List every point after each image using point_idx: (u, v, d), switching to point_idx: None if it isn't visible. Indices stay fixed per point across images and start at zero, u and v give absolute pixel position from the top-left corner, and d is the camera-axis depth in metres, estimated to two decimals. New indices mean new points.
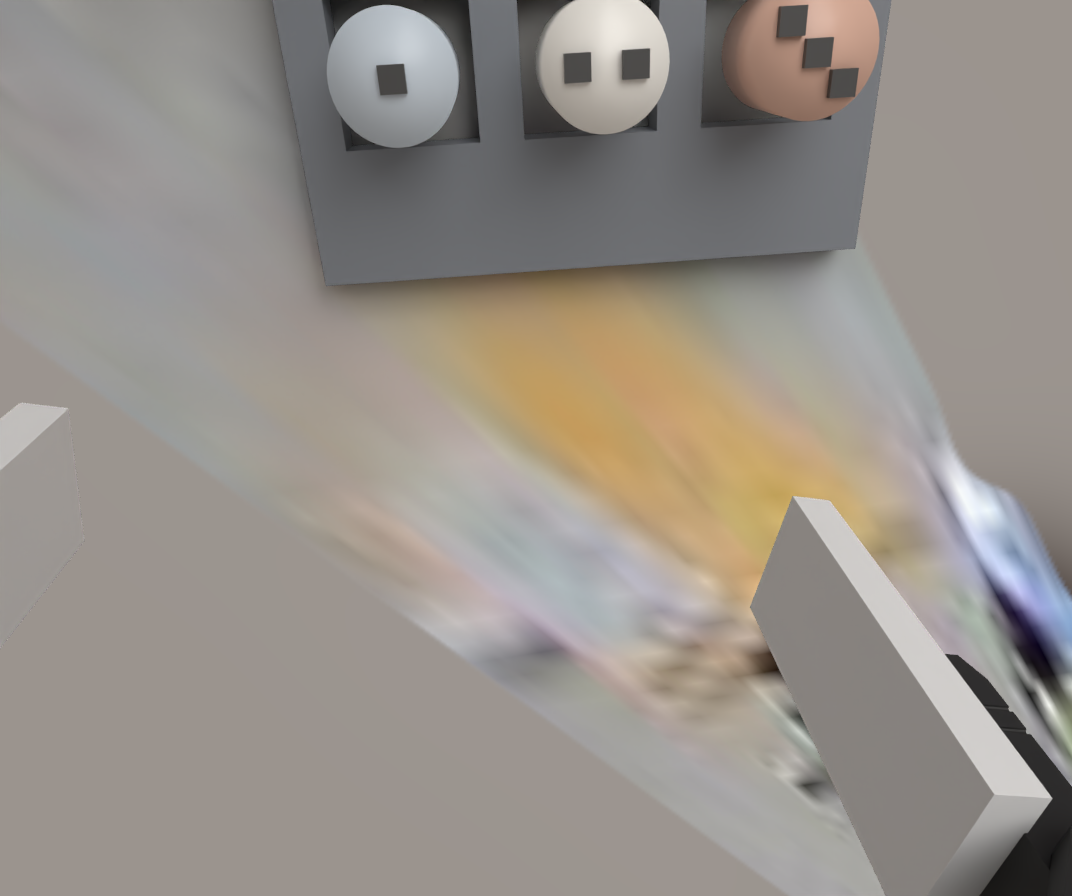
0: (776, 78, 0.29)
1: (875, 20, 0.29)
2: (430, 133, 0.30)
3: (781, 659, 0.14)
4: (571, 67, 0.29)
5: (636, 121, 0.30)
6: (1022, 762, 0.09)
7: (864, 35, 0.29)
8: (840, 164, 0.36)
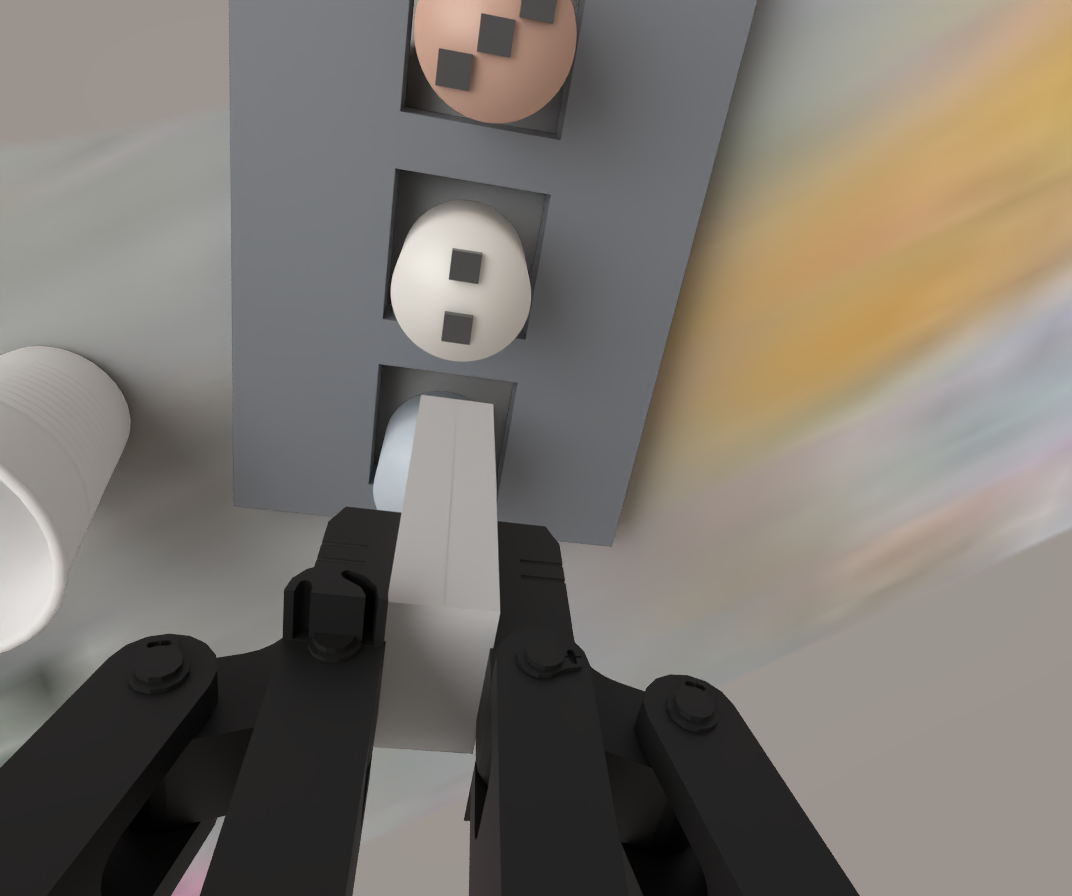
0: (514, 93, 0.23)
1: None
2: None
3: None
4: (455, 336, 0.27)
5: (524, 272, 0.26)
6: (497, 588, 0.11)
7: None
8: None
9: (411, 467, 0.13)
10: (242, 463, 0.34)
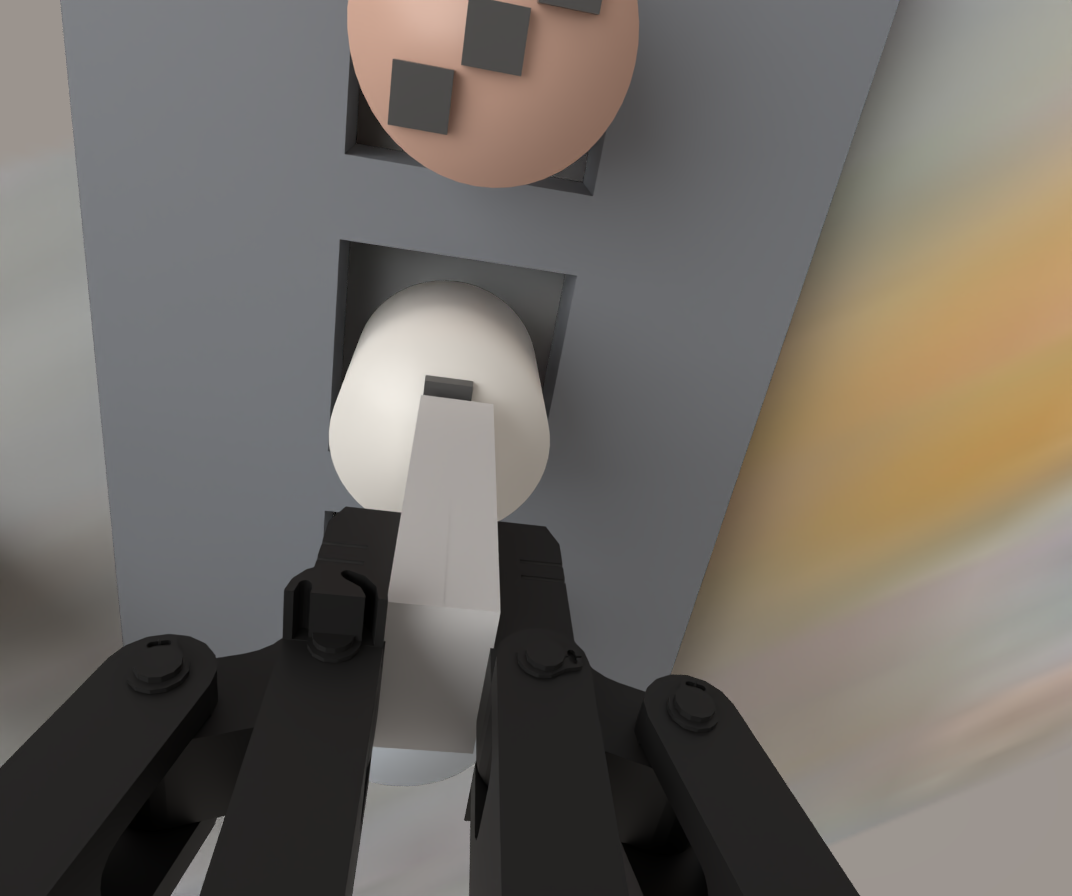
0: (528, 137, 0.13)
1: None
2: None
3: None
4: None
5: (539, 408, 0.17)
6: (498, 588, 0.11)
7: None
8: None
9: (411, 467, 0.13)
10: None
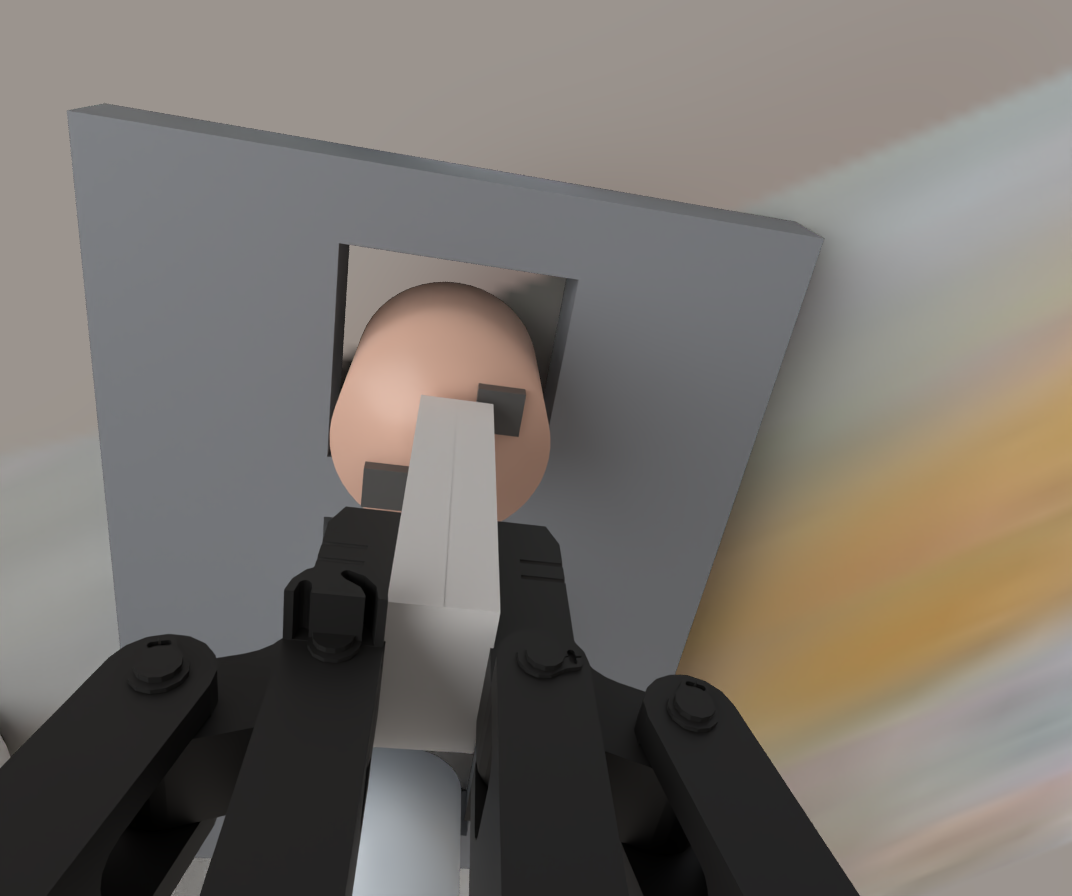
0: None
1: (407, 349, 0.16)
2: (448, 895, 0.23)
3: None
4: None
5: None
6: (497, 588, 0.11)
7: (428, 368, 0.16)
8: (659, 264, 0.20)
9: (411, 467, 0.13)
10: None
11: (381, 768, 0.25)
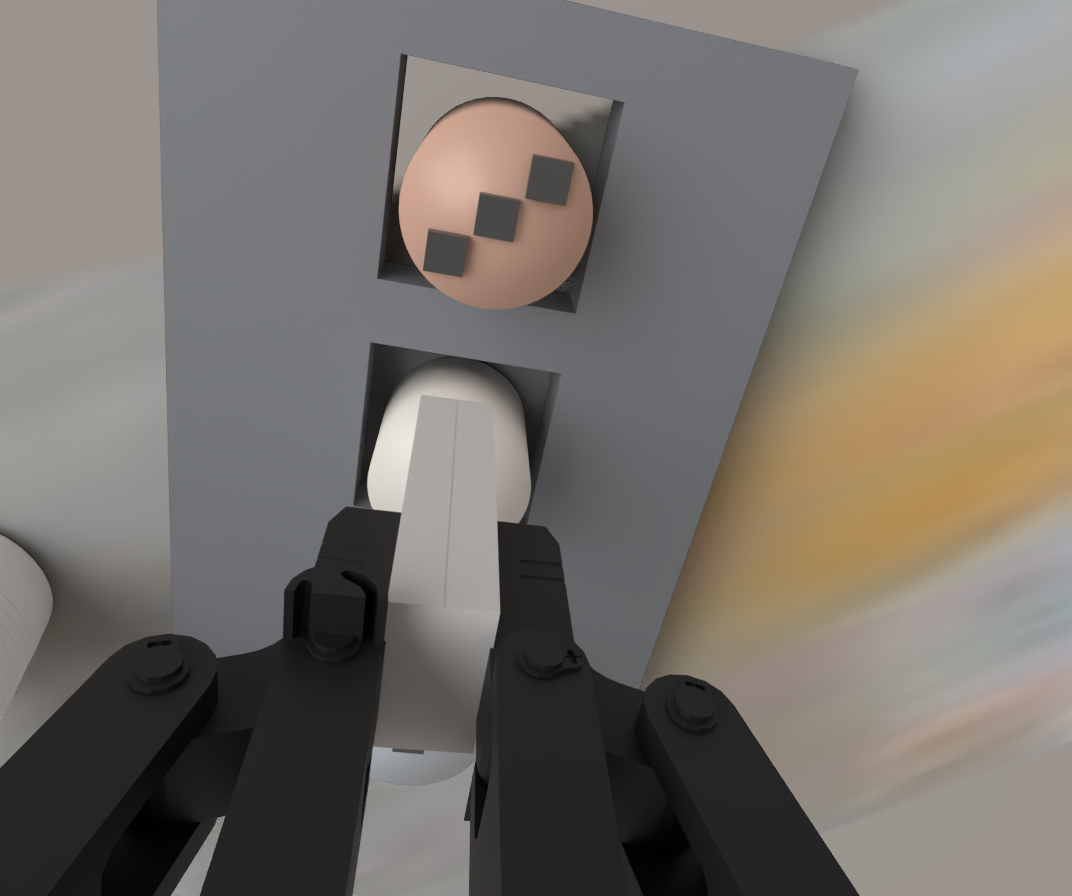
0: (517, 278, 0.20)
1: (472, 116, 0.18)
2: None
3: None
4: None
5: (523, 464, 0.22)
6: (497, 588, 0.11)
7: (489, 136, 0.18)
8: (702, 89, 0.21)
9: (411, 467, 0.13)
10: None
11: None
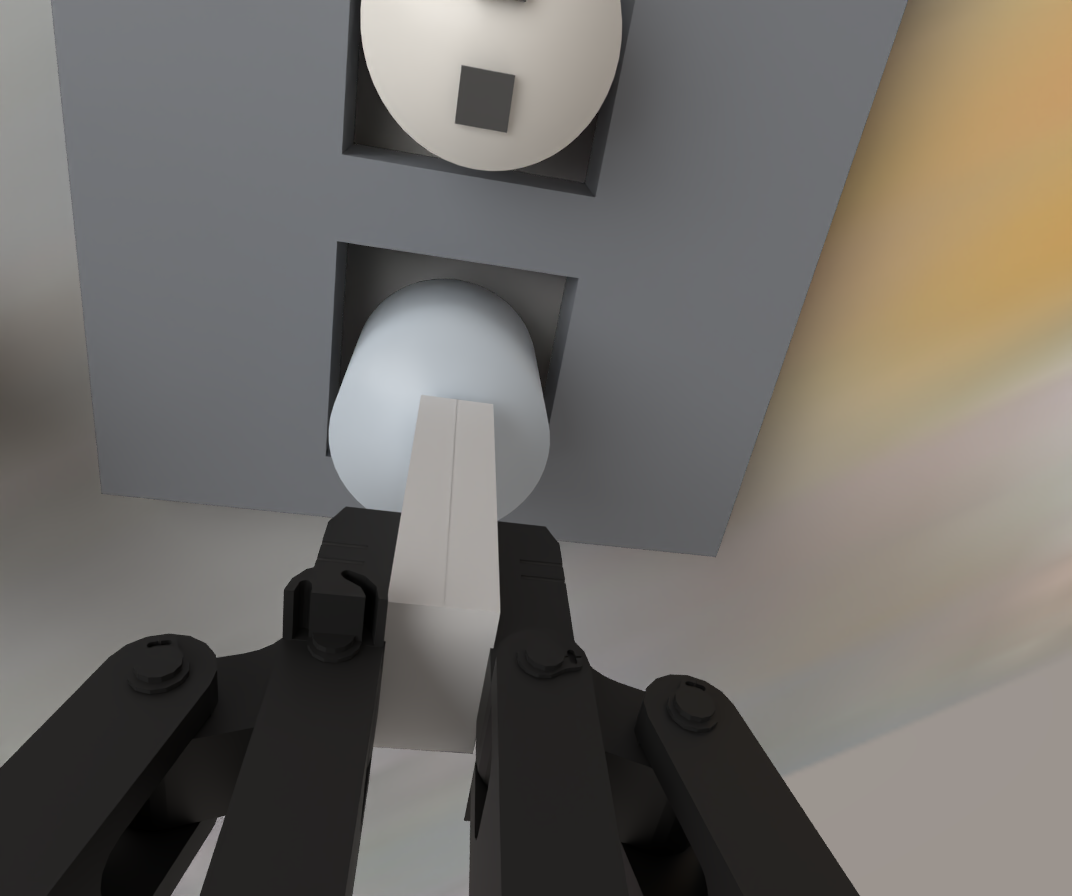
0: None
1: None
2: (537, 405, 0.17)
3: None
4: (481, 113, 0.14)
5: None
6: (497, 588, 0.11)
7: None
8: None
9: (411, 467, 0.13)
10: (110, 421, 0.20)
11: (436, 289, 0.19)
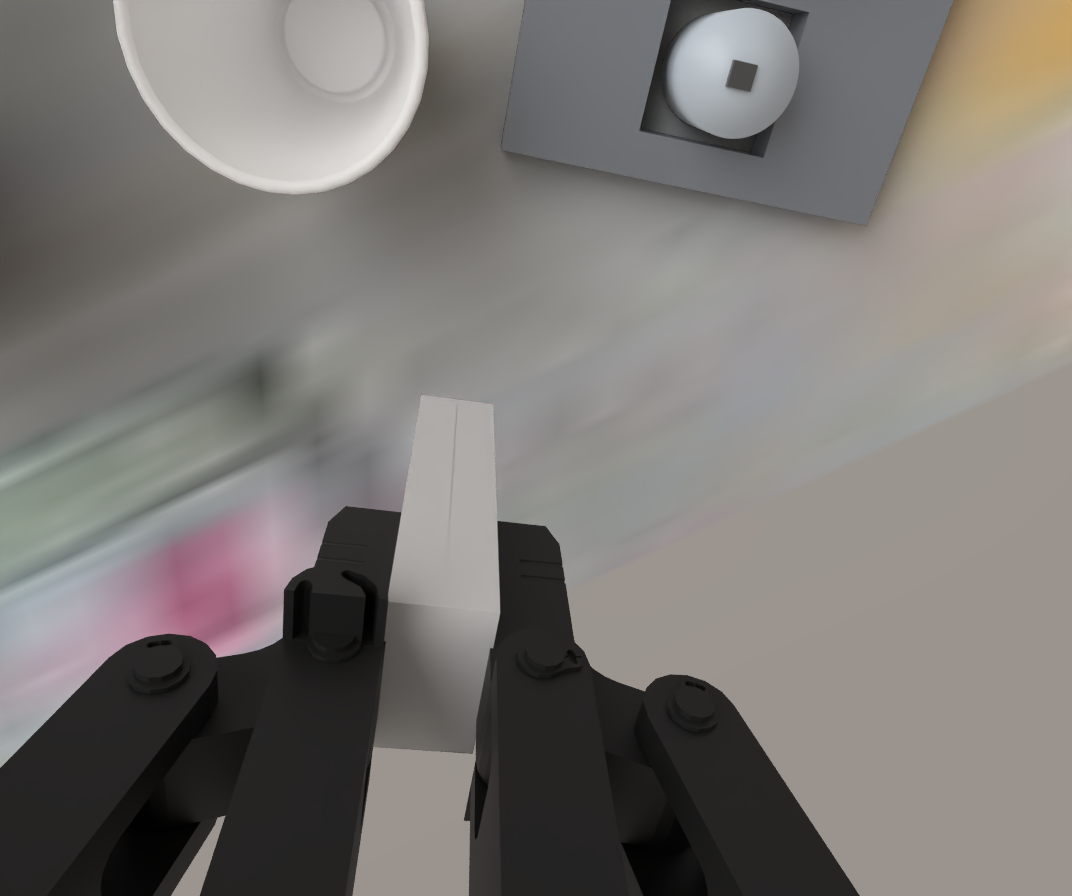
0: None
1: None
2: (795, 54, 0.31)
3: None
4: None
5: None
6: (497, 588, 0.11)
7: None
8: None
9: (411, 467, 0.13)
10: (519, 97, 0.34)
11: None
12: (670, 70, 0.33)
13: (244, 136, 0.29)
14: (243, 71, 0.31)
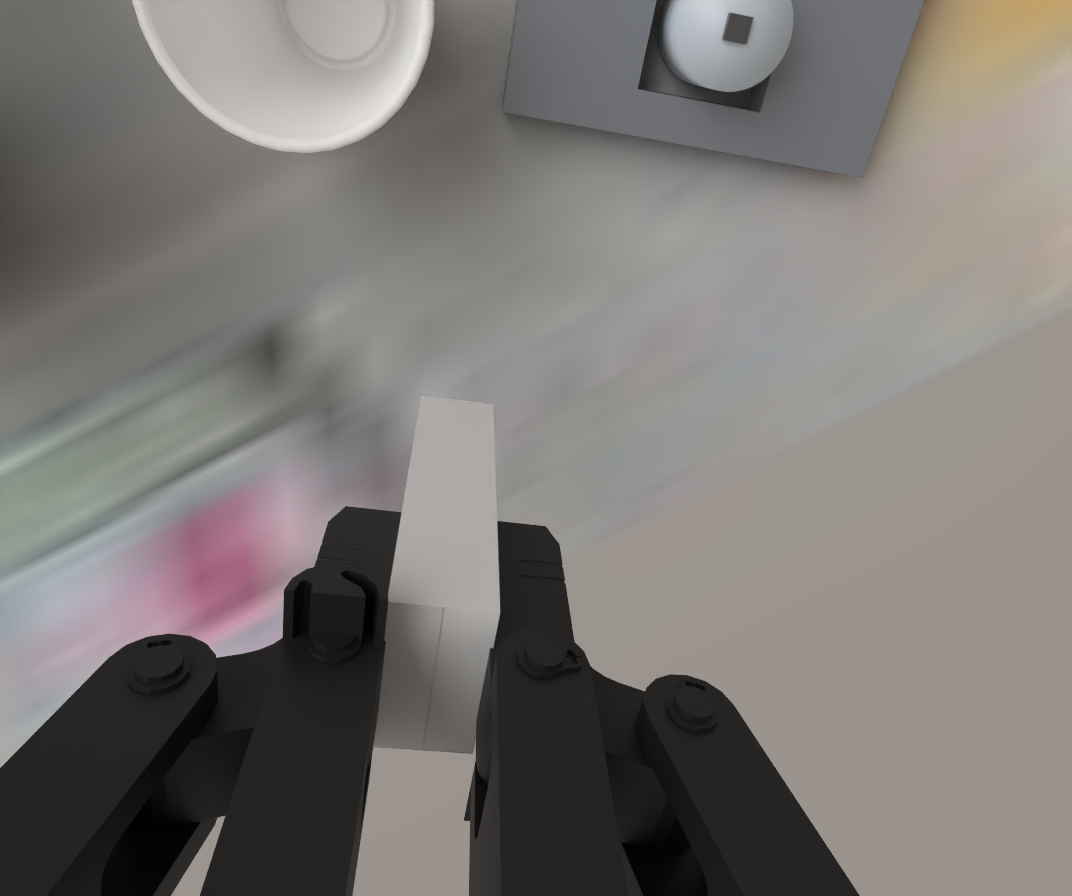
0: None
1: None
2: (789, 6, 0.32)
3: None
4: None
5: None
6: (497, 588, 0.11)
7: None
8: None
9: (411, 467, 0.13)
10: (519, 58, 0.35)
11: None
12: (667, 27, 0.34)
13: (254, 99, 0.30)
14: (249, 38, 0.32)
